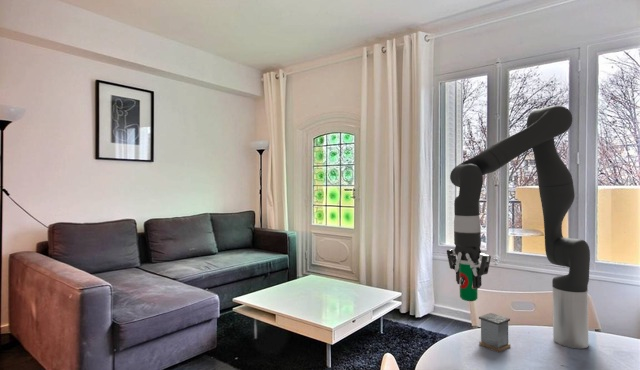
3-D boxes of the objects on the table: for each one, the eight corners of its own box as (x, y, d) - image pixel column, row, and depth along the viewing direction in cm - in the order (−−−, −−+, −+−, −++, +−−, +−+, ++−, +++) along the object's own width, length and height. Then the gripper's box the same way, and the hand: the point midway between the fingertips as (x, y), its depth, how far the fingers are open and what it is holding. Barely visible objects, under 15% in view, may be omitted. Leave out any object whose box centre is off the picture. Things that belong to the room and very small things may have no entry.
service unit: (490, 340, 117) (490, 312, 117) (510, 347, 112) (510, 318, 112) (479, 344, 114) (478, 316, 114) (498, 352, 108) (498, 323, 108)
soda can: (476, 302, 106) (475, 262, 106) (458, 300, 108) (457, 260, 108) (478, 297, 110) (477, 258, 110) (461, 295, 113) (460, 257, 113)
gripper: (496, 231, 105) (498, 289, 105) (454, 227, 117) (456, 279, 117) (481, 233, 101) (482, 293, 101) (439, 229, 113) (440, 282, 113)
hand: (468, 285), depth 109 cm, fingers closed on soda can, 5 cm apart
